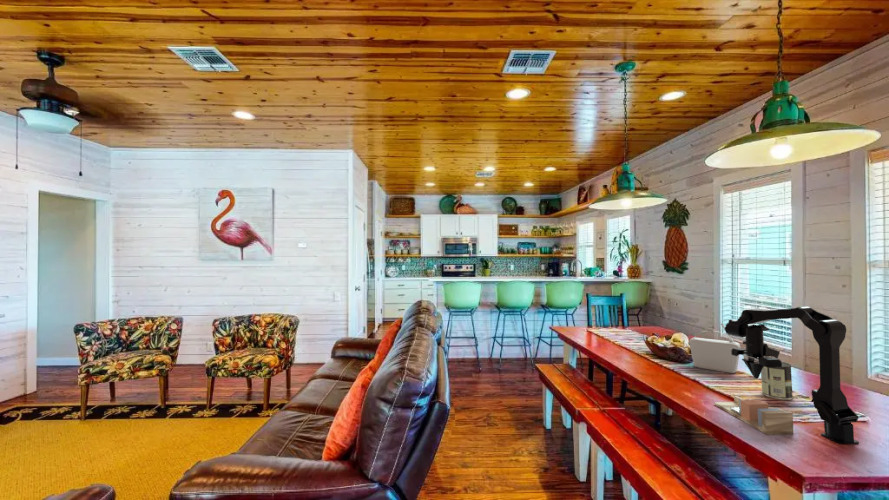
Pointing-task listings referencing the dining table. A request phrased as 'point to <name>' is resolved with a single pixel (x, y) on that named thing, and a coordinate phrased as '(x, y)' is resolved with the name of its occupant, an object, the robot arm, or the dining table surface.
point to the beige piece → (764, 419)
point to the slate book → (761, 414)
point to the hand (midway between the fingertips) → (756, 378)
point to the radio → (714, 354)
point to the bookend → (738, 409)
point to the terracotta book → (752, 408)
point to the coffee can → (777, 382)
